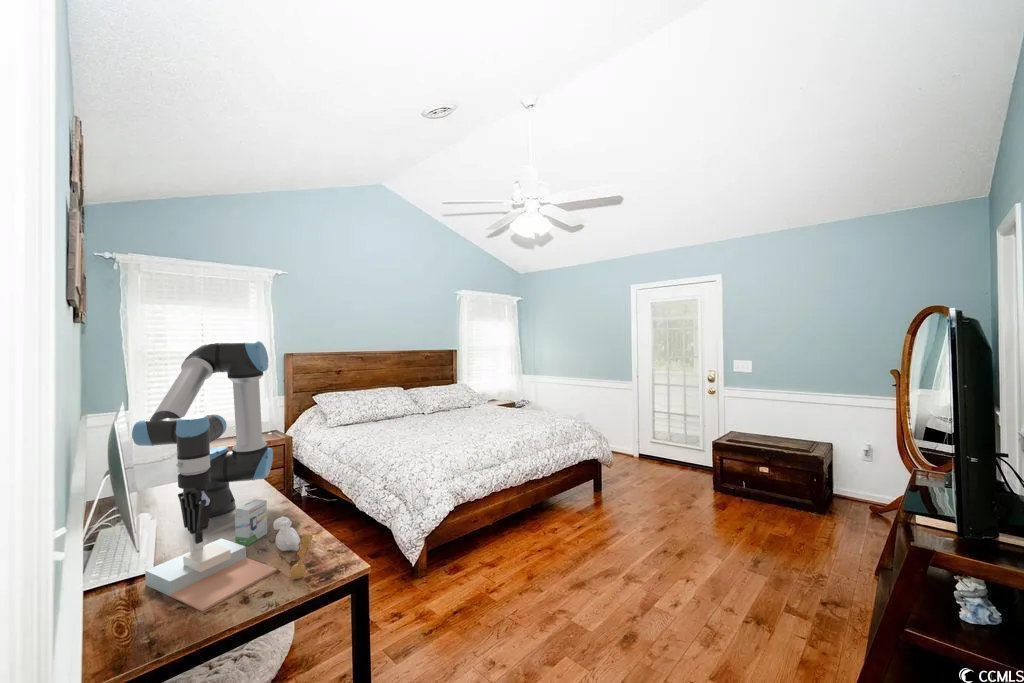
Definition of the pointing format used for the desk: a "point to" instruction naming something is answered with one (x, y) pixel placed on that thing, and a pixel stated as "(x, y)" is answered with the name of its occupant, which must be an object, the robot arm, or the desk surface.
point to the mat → (223, 584)
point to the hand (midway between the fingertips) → (196, 553)
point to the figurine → (301, 557)
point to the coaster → (206, 557)
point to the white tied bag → (286, 535)
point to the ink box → (250, 521)
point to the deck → (188, 570)
